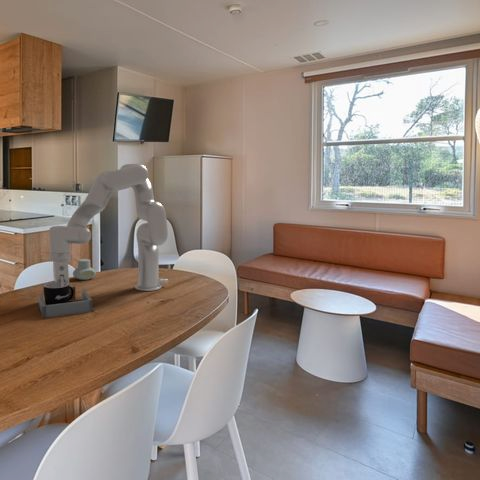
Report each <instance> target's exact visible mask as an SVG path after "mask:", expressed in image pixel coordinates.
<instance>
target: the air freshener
mask: <svg viewBox="0 0 480 480" xmlns="http://www.w3.org/2000/svg"><path fill="white" fill-rule="evenodd" d="M96 273H97V272H96V269H94V268H93V267H91V259H88V258H81V259H78V260H77V268H75V269H74V270H73V272H72V275H73V278H75V279H77V280H80V281H89V280H90V279H92V278H94V277H95V276H96Z"/></svg>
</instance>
